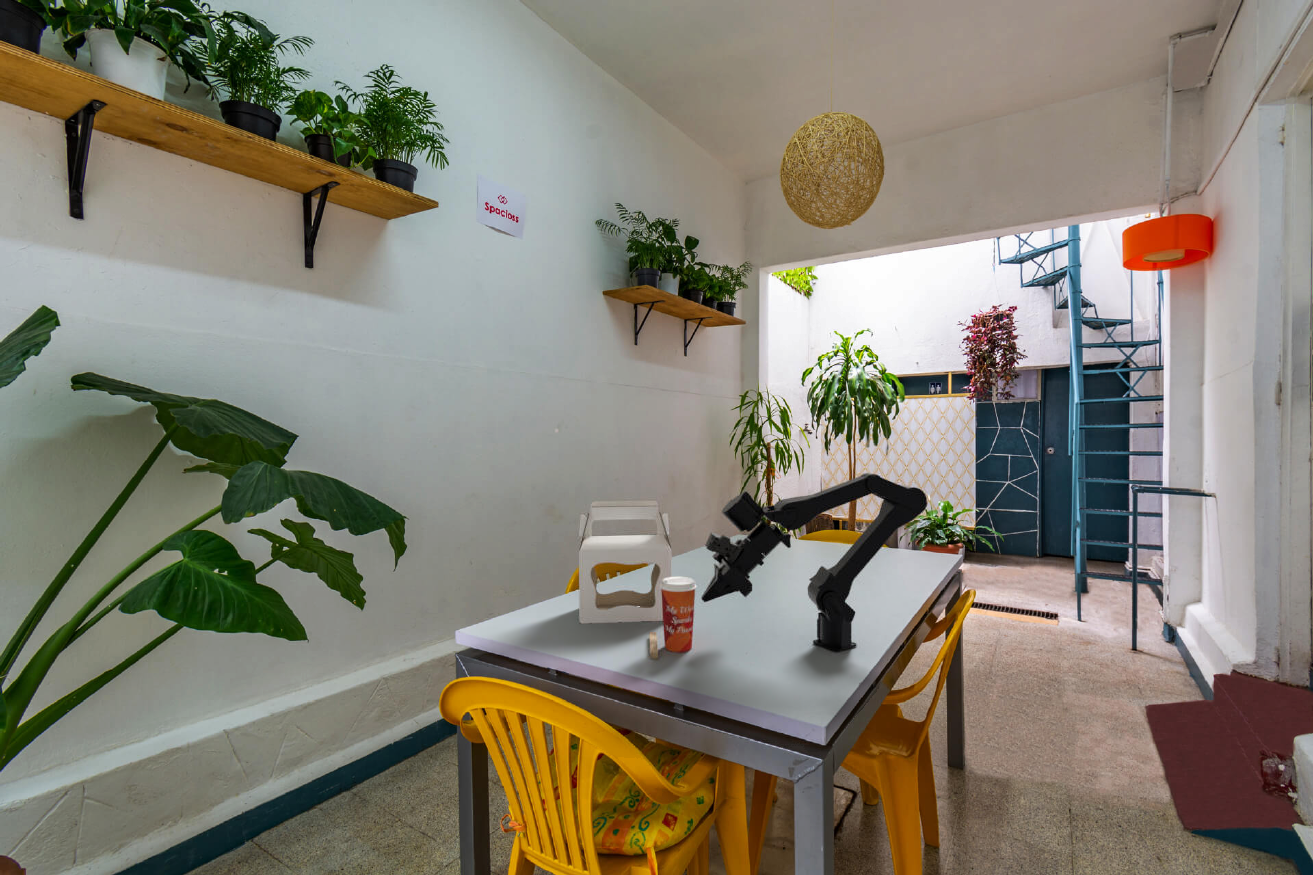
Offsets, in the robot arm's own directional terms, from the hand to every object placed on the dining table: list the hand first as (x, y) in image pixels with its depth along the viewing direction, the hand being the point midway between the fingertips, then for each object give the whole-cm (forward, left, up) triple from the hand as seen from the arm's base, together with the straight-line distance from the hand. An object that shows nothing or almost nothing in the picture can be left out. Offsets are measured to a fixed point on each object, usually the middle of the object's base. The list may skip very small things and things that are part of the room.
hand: (702, 600), depth 125 cm
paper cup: (+3, +4, -10) cm, 11 cm away
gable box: (+29, +2, -10) cm, 30 cm away
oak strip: (+5, +9, -10) cm, 14 cm away
